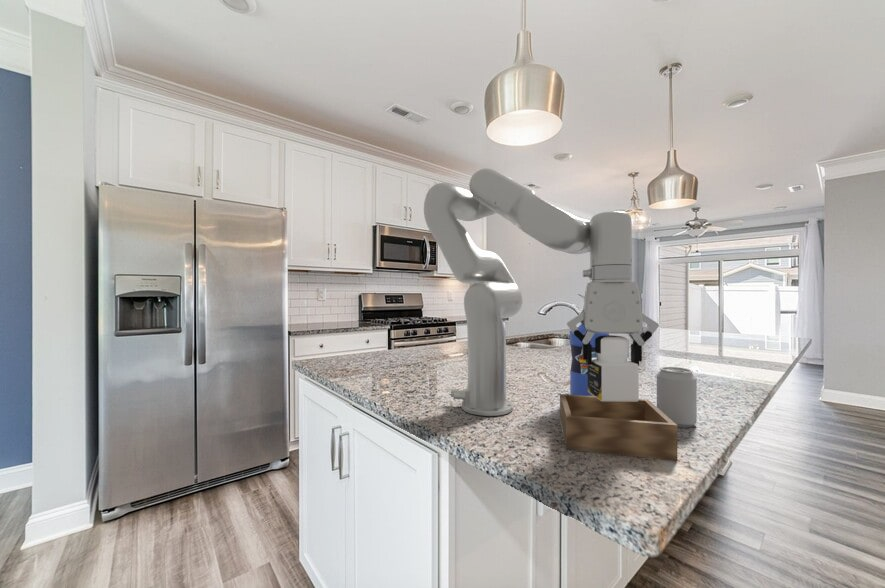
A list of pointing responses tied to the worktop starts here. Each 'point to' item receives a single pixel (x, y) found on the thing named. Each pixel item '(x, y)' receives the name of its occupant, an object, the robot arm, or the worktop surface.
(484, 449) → the worktop surface
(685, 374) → the can
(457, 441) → the worktop surface
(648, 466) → the worktop surface
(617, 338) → the medicine bottle
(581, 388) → the water bottle
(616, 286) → the robot arm
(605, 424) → the crate
